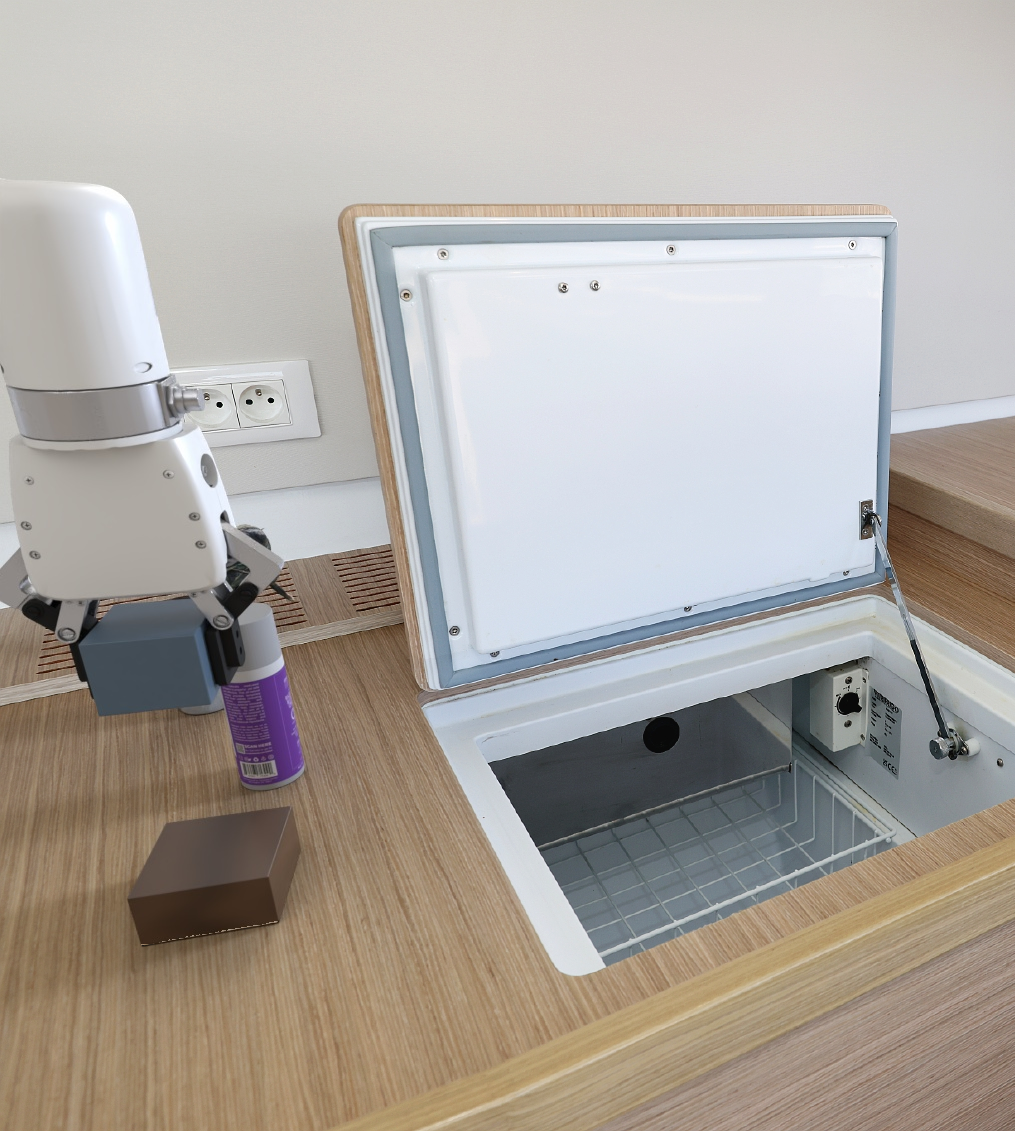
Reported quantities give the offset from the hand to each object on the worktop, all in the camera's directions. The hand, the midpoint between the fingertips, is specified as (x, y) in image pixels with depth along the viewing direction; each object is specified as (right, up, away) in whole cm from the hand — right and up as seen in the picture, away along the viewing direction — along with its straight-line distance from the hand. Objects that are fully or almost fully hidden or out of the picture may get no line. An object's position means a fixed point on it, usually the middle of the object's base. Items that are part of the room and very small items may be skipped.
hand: (168, 679), depth 61 cm
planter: (-16, -6, +28) cm, 33 cm away
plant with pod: (-22, 0, +42) cm, 47 cm away
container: (-4, -10, +18) cm, 22 cm away
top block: (0, -1, 0) cm, 1 cm away
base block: (0, -16, +5) cm, 17 cm away
